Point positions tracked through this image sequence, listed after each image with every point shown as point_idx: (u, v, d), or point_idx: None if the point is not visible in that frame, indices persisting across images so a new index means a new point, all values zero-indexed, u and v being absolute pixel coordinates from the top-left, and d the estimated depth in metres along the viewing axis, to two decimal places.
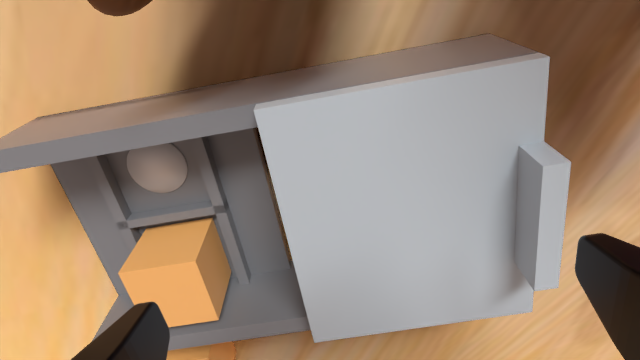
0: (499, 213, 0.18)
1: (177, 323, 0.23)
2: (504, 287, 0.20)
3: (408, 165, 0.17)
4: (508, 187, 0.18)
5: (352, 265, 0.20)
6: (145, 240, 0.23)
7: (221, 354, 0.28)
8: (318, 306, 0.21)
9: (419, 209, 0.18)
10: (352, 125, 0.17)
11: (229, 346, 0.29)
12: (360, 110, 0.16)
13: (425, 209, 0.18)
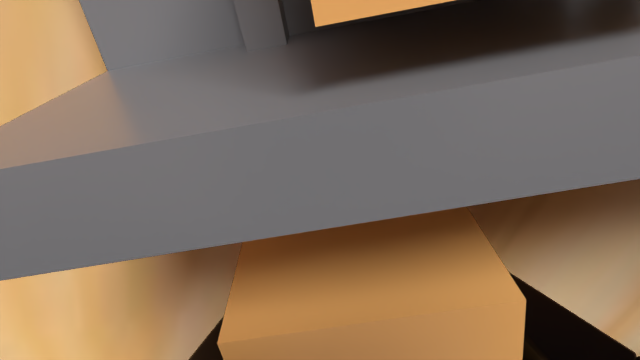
0: None
1: None
2: None
3: None
4: None
5: None
6: None
7: None
8: None
9: None
10: None
11: None
12: None
13: None
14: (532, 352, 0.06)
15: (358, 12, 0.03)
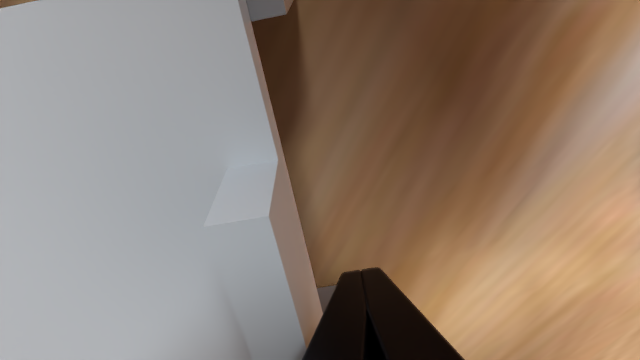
0: None
1: None
2: None
3: (8, 210, 0.08)
4: None
5: None
6: None
7: None
8: None
9: (71, 292, 0.09)
10: None
11: None
12: None
13: (84, 291, 0.09)
14: None
15: None
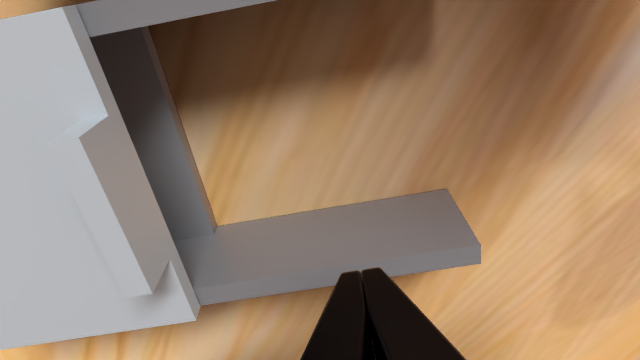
0: None
1: None
2: None
3: None
4: None
5: None
6: None
7: None
8: None
9: None
10: None
11: None
12: None
13: (5, 199, 0.15)
14: None
15: None
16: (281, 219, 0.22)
